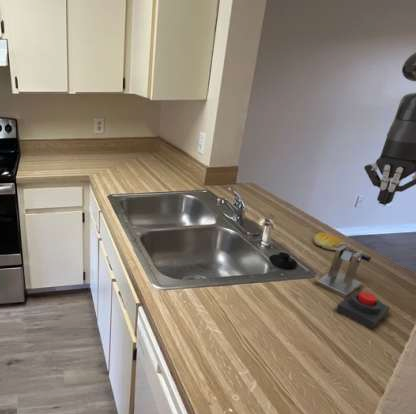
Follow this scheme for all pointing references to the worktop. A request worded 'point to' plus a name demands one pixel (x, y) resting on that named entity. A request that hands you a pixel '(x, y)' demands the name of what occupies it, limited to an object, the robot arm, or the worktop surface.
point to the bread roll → (328, 241)
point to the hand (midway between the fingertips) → (383, 203)
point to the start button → (367, 298)
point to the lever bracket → (341, 275)
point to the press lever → (348, 255)
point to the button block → (363, 310)
